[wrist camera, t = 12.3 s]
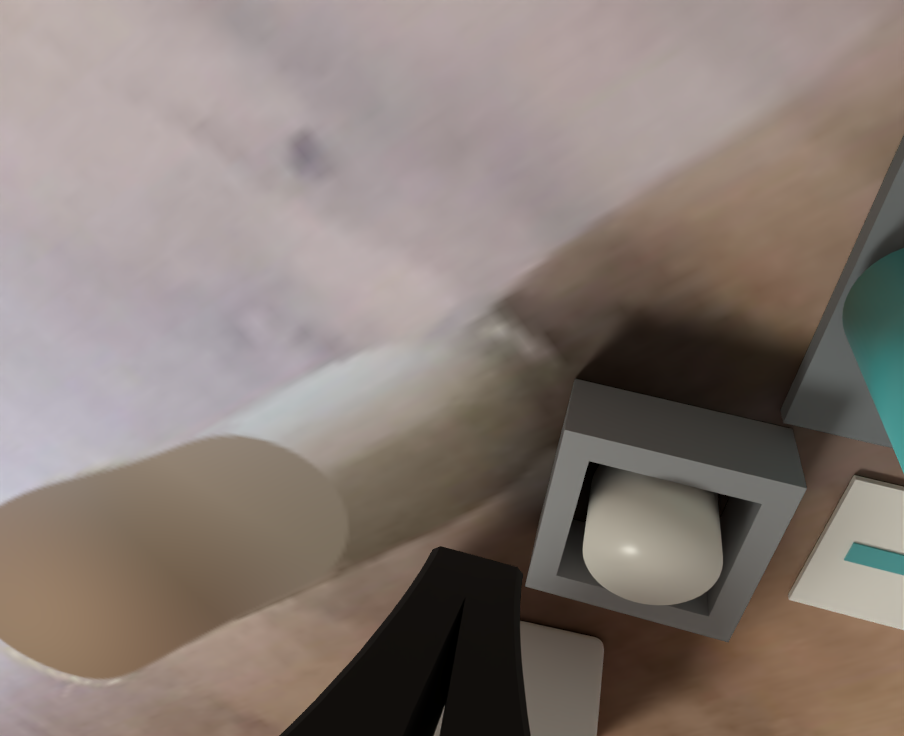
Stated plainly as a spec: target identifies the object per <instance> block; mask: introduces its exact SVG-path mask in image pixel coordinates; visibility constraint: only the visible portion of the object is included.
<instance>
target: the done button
mask: <svg viewBox="0 0 904 736" xmlns="http://www.w3.org/2000/svg"><path fill="white" fill-rule="evenodd" d="M583 558H584V561H585V564H586V566H587V568H588V570H589V572H590V573H591V575H592V576H593V577H594V578H595V579H596V581H597V582H598V583H600V584H601V585H602V586H603V587H604V588H606V589H607V590H609V591H610V592H612V593H614V594H616V595H617V596H620V597H622V598H624V599H627V600H630V601H633V602H637V603H641V604H648V605H672V604H679V603H683V602H687V601H689V600H692V599H695V598H697V597H699V596H701V595H702V594H704V593H705V592H707V591H708V590H709V589H710V588H711V587H712V586H713V585H714V584H715V583H716V581H717V580H718V578H719V576H720V574H721V571H722V566H723V552H722V540H721V529H720V517H719V505H718V493H716V492H711V491H707V490H703V489H699V488H695V487H691V486H687V485H683V484H679V483H675V482H671V481H667V480H663V479H659V478H655V477H651V476H647V475H643V474H639V473H635V472H631V471H627V470H623V469H618V468H614V467H610V466H606V465H602V464H600V465H599V466H598V468H597V469H596V471H595V473H594V475H593V478H592V482H591V489H590V496H589V504H588V511H587V519H586V526H585V533H584V541H583Z"/></svg>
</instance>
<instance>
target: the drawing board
mask: <svg viewBox="0 0 904 736" xmlns="http://www.w3.org/2000/svg"><path fill="white" fill-rule="evenodd" d="M902 248H904V136H903V138H902V140H901V143H900V145H899V147H898V149H897V151H896V154H895V156H894V158H893V160H892V163H891V165H890V167H889V169H888V172H887V174H886V176H885V178H884V180H883V183H882V185H881V187H880V189H879V192H878V194H877V196H876V198H875V200H874V203H873V205H872V207H871V209H870V212H869V214H868V216H867V218H866V221H865V223H864V225H863V227H862V229H861V232H860V234H859V236H858V238H857V241H856V243H855V245H854V247H853V249H852V252H851V254H850V256H849V258H848V261H847V263H846V265H845V267H844V270H843V272H842V274H841V276H840V278H839V281H838V283H837V285H836V287H835V290H834V292H833V294H832V296H831V298H830V301H829V303H828V305H827V307H826V310H825V312H824V314H823V316H822V319H821V321H820V323H819V325H818V327H817V330H816V332H815V334H814V336H813V339H812V341H811V343H810V345H809V347H808V350H807V352H806V354H805V356H804V359H803V361H802V363H801V365H800V368H799V370H798V372H797V374H796V376H795V379H794V381H793V383H792V385H791V388H790V390H789V392H788V394H787V396H786V399H785V401H784V403H783V405H782V408H781V410H780V411H781V415H782V420H783V423H786V424H790V425H795V426H799V427H803V428H808V429H812V430H816V431H821V432H825V433H829V434H834V435H838V436H842V437H847V438H851V439H855V440H860V441H864V442H868V443H873V444H877V445H881V446H886V447H890V448H893V446H892V444H891V442H890V439H889V437H888V435H887V432H886V430H885V427H884V425H883V423H882V420H881V418H880V416H879V413H878V411H877V409H876V406H875V404H874V401H873V399H872V397H871V394H870V392H869V390H868V387H867V385H866V382H865V380H864V378H863V375H862V373H861V371H860V368H859V366H858V363H857V361H856V359H855V356H854V354H853V352H852V349H851V347H850V345H849V342H848V340H847V337H846V335H845V332H844V328H843V321H842V315H843V307H844V303H845V300H846V297H847V295H848V293H849V291H850V289H851V287H852V286H853V284H854V283H855V282H856V280H857V279H858V278H859V277H860V276H861V275H862V273H863V272H864V271H865V270H867V269H868V268H869V267H870V266H871V265H872V264H874V263H875V262H877V261H878V260H880V259H881V258H883V257H885V256H886V255H888V254H890V253H892V252H895V251H897V250H899V249H902Z"/></svg>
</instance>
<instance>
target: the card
mask: <svg viewBox="0 0 904 736" xmlns="http://www.w3.org/2000/svg"><path fill="white" fill-rule="evenodd" d="M788 598H789V600H792V601H796V602H799V603H803V604H807V605H811V606H814V607H818V608H822V609H826V610H830V611H833V612H837V613H841V614H845V615H849V616H852V617H856V618H860V619H864V620H867V621H871V622H875V623H879V624H883V625H886V626H890V627H894V628H898V629H902V630H904V487H903V486H899V485H895V484H890V483H886V482H882V481H878V480H873V479H869V478H865V477H861V476H857V475H854V476H853V478H852V479H851V481H850V483H849V485H848V487H847V489H846V490H845V492H844V494H843V496H842V498H841V499H840V501H839V503H838V505H837V507H836V509H835V510H834V512H833V514H832V516H831V518H830V519H829V521H828V523H827V525H826V527H825V528H824V530H823V532H822V534H821V536H820V538H819V539H818V541H817V543H816V545H815V547H814V548H813V550H812V552H811V554H810V556H809V558H808V559H807V561H806V563H805V565H804V567H803V568H802V570H801V572H800V574H799V576H798V578H797V579H796V581H795V583H794V585H793V587H792V588H791V590H790V592H789V594H788Z"/></svg>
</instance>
